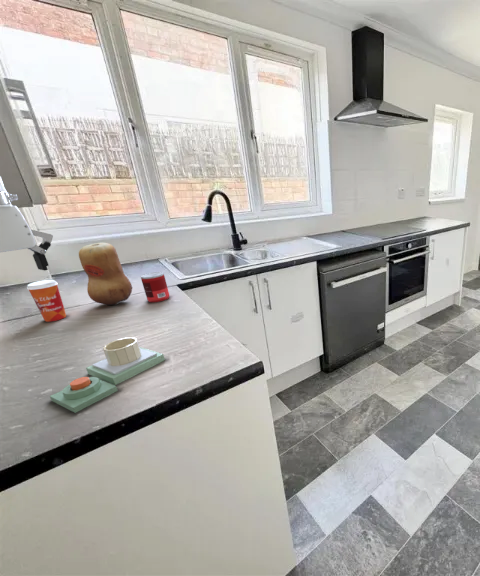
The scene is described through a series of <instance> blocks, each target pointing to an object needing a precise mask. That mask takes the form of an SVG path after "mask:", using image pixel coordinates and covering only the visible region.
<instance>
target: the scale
mask: <svg viewBox="0 0 480 576" xmlns="http://www.w3.org/2000/svg"><path fill="white" fill-rule="evenodd" d="M139 347H140V350H141V357H139V358H138V359H137V360H135V361H133V362H131V363H128V364H124V365H120V366H111V365H109V364H108V361H107V359H106V358H104V359H102V360H100V361H97V362H95V363H92V364H91V365H90V366H86V367H85V369H86V372H87V374H88V375H89V376H90V377H96V378H99V379H100V380H102V381H105V382H107V383H110V384H112V385H115V386H116V385H119V384H121V383H123V382H125V381H126V380H129V379H130V378H132V377H135V376H136V375H139V374H141V373H142V372H145V371H146V370H149V369H150V368H153V367H154V366H156V365H158V364H161V363H162V362H164V361H166V359H165V355H164V353H160V352H158V351H155V350H151V349H148V348H145V347H142V346H139Z"/></svg>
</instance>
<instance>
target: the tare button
mask: <svg viewBox="0 0 480 576" xmlns="http://www.w3.org/2000/svg"><path fill="white" fill-rule="evenodd" d="M69 384H70V386H71V388H72V390H73V391H74V390H80V389H83V388H85V387H87V386H89V385H90V384H91V382H90V379H89V376H83V377H82V376H81V377H78V378H75V379H74V380H72V381H71V382H70V383H69Z"/></svg>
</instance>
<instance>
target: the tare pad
mask: <svg viewBox="0 0 480 576" xmlns="http://www.w3.org/2000/svg"><path fill="white" fill-rule="evenodd" d="M88 377H89V376H88ZM89 379H90V382H91V384H90V385H89V386H87V387H85V388H83V389H80V390H74V391H73V390H72V388H71V386H70V383H69V384H68V385H67V386H65V387H64V388H63V389H62V390H59V391H57V392H55V393H54V394H51V395H49V398H50V401H51V402H53V403H55V404H56V405H59V406H61V407H63V408H65V409H67V410H68V411H71V413H72V412H73V413H75V414H76V413H78V412H80V411H82V410H83V409H86V408H87V407H89V406H91V405H93V404H95V403H98V402H99V401H101V400H102V399H104V398H106V397H108V396H111V395H113V394H114V393H117V392H118V387H117V386H116V385H114V384H111V383H109V382H106V381H104V380H101V379H99V378H96V377H94V376H90V377H89Z"/></svg>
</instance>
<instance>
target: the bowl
mask: <svg viewBox="0 0 480 576" xmlns="http://www.w3.org/2000/svg"><path fill="white" fill-rule="evenodd" d="M140 347H141V346H140V345H139V341H138V338H137V337H134V336H133V337H122V338H119V339H115V340H113V341H111V342H109V343H107V344H105V345H104V346H103V349H102V351H103V353H104V356H105V359H107V361H108V364H109V365H111V366H120V365H124V364H128V363H131V362H133V361H135V360H137V359H138V358H139V357H141V350H140Z"/></svg>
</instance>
